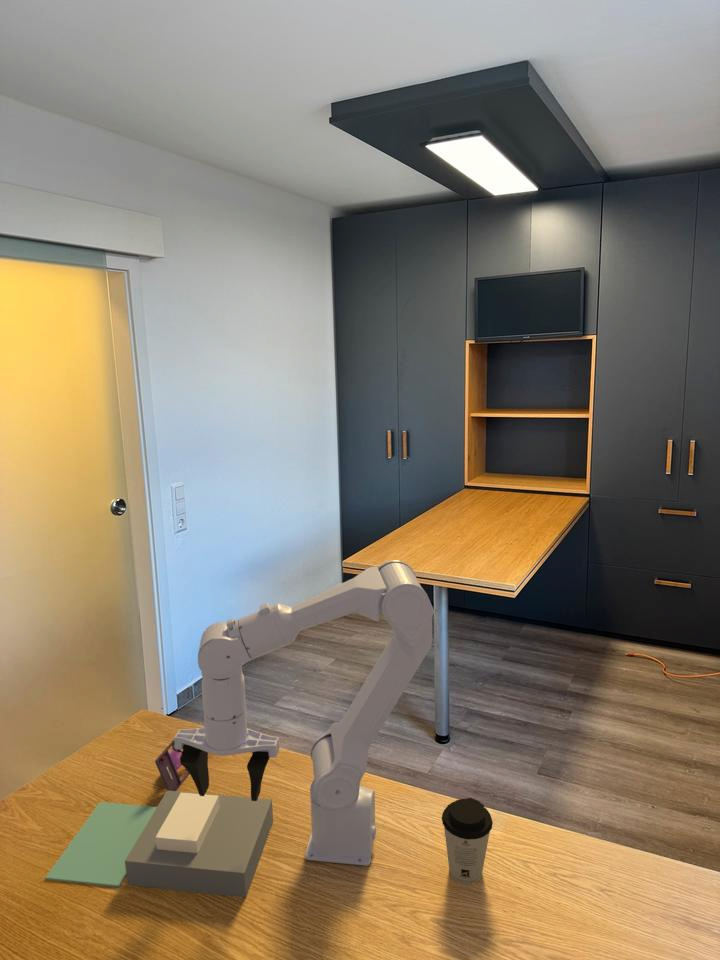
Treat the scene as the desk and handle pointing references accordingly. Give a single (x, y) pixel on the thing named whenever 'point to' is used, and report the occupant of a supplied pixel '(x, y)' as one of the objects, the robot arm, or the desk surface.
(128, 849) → the mat
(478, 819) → the coffee cup
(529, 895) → the desk surface
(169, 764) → the game card
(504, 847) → the desk surface
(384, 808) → the desk surface
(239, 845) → the plate
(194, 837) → the beige rectangular block
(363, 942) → the desk surface
